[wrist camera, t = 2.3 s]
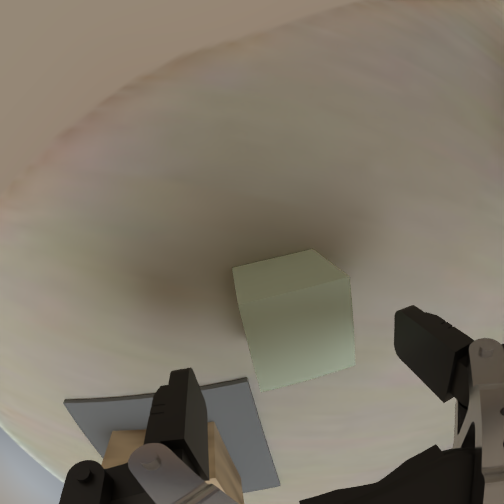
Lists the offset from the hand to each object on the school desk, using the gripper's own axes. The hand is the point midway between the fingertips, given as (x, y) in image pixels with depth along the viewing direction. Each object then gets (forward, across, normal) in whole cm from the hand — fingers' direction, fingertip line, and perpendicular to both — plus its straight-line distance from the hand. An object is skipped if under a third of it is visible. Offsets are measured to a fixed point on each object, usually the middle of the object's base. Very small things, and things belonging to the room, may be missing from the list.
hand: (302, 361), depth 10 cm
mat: (+7, +9, +12) cm, 17 cm away
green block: (+6, -1, 0) cm, 7 cm away
